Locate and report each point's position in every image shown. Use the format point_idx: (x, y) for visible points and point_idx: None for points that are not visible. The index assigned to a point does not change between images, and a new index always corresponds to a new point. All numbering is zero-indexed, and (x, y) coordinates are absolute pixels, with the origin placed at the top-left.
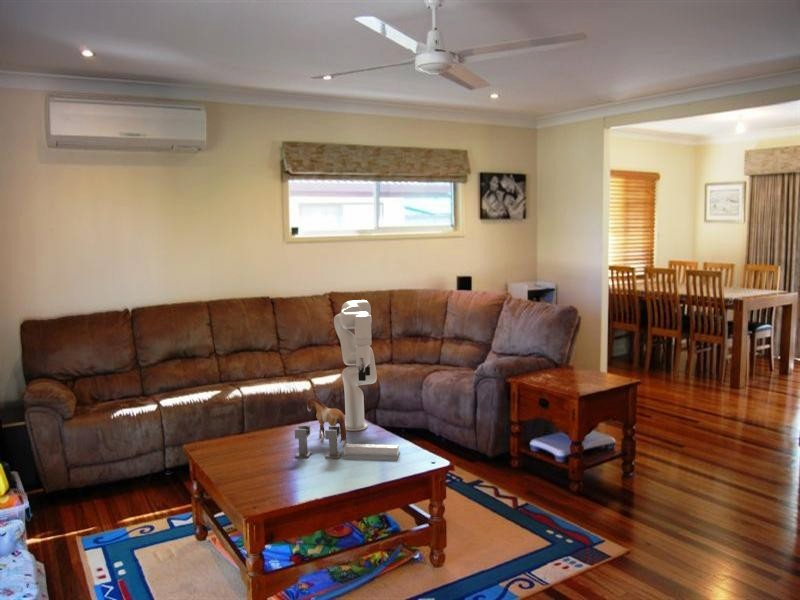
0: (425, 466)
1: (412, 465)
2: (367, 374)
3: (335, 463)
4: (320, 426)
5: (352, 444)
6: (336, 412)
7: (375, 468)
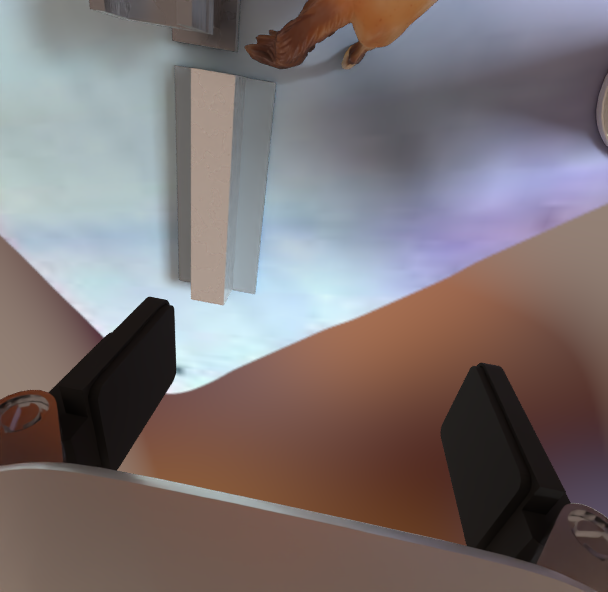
0: None
1: None
2: (452, 419)
3: (121, 32)
4: None
5: (225, 112)
6: None
7: (100, 210)
